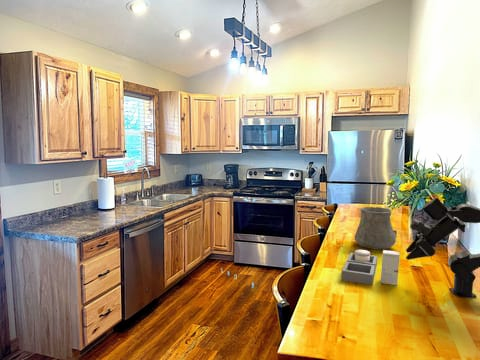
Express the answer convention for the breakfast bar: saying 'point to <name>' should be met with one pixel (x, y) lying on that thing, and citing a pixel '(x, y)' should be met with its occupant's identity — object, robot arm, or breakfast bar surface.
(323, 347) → the breakfast bar surface
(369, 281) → the bottle caddy
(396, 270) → the skincare box
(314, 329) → the breakfast bar surface
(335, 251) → the breakfast bar surface
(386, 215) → the vessel
